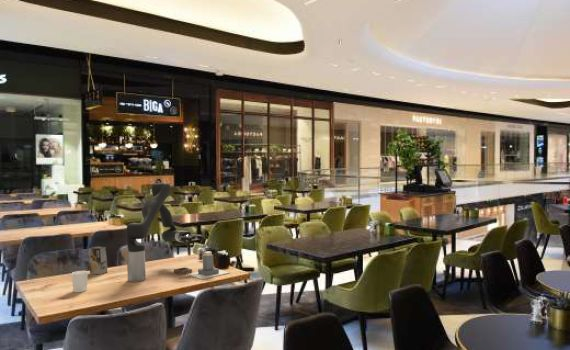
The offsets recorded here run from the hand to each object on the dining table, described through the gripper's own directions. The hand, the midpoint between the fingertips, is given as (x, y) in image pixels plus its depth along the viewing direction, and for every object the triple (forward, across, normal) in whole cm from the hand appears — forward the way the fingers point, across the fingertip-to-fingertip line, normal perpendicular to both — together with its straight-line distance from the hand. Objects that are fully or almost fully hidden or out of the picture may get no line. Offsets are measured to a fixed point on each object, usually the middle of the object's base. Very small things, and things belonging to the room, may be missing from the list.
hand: (197, 238), depth 291 cm
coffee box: (-45, -43, +21) cm, 66 cm away
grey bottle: (+10, +1, +20) cm, 23 cm away
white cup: (-11, -67, +22) cm, 72 cm away
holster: (-5, -7, +20) cm, 22 cm away
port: (+11, +1, +21) cm, 23 cm away
